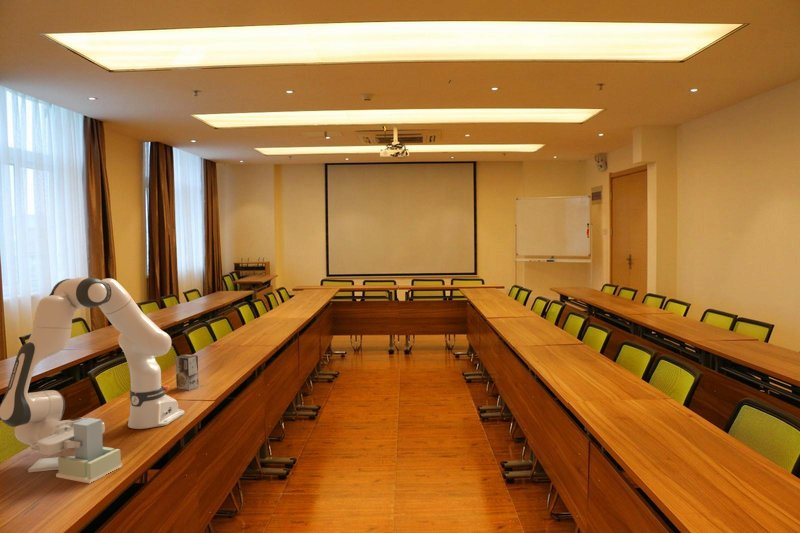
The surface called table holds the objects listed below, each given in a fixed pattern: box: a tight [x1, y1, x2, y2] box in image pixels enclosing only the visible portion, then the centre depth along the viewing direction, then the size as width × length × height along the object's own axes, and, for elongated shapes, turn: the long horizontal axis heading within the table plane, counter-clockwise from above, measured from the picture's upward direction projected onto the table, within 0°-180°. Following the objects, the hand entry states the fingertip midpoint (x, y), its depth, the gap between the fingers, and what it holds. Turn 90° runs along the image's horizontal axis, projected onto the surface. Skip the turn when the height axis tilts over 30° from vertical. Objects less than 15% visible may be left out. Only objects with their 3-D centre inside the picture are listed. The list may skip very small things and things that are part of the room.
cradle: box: [55, 446, 123, 484], centre depth 163 cm, size 12×14×6 cm
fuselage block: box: [73, 417, 104, 462], centre depth 163 cm, size 6×6×14 cm
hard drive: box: [27, 455, 75, 473], centre depth 169 cm, size 2×8×12 cm
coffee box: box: [174, 354, 200, 391], centre depth 254 cm, size 9×6×16 cm
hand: (90, 440), depth 162 cm, fingers closed on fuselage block, 5 cm apart
